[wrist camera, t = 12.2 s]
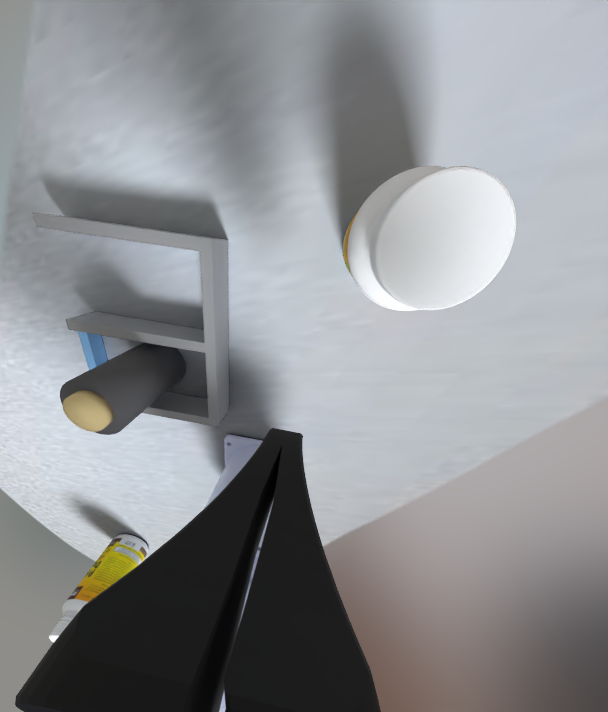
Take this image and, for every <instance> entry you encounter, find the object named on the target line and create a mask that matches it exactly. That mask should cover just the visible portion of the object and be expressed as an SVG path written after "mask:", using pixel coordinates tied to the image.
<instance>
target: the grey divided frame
mask: <svg viewBox="0 0 608 712" xmlns="http://www.w3.org/2000/svg"><path fill="white" fill-rule="evenodd" d="M33 216H34V220H35V223H36V226H37V227H41V228H48V229H54V230H61V231H68V232H74V233H81V234H88V235H94V236H101V237H108V238H115V239H121V240H128V241H135V242H141V243H148V244H155V245H161V246H168V247H175V248H182V249H188V250H195V251H200V266H201V285H202V303H203V322H204V330H203V329H197V328H191V327H185V326H179V325H173V324H167V323H161V322H155V321H149V320H143V319H137V318H131V317H125V316H119V315H113V314H107V313H101V312H92V313H88V314H85V315H81V316H77V317H74V318H70V319H66V322H67V326H68V329H69V330H74V331H78V334H79V337H80V340H81V344H82V347H83V351H84V354H85V357H86V361H87V364H88V367H89V370H91V369H93V368H95V367H97V366H99V365H101V364H103V363H105V362H107V361H108V360H107V356H106V353H105V349H104V345H103V341H102V337H101V335H103V336H109V337H115V338H121V339H127V340H133V341H139V342H144V343H150V344H156V345H162V346H168V347H174V348H180V349H185V350H191V351H197V352H203V353H205V359H206V377H207V396H208V399H206V398H200V397H195V396H189V395H184V394H178V393H173V392H167V391H166V392H165V393H164V394H162V395H161V396H160V397H159V398H158V399H157V400H156V401H154V402H153V403H152V404H151V405H150V406H149V407H147V408H146V409H145V410H144V411H143V412H142V413H146V414H151V415H157V416H162V417H168V418H173V419H178V420H184V421H189V422H195V423H200V424H205V425H211V426H216V427H218V426H219V424H220V423H221V421H222V420H223V418H224V416H225V415H226V413H227V412H228V410H229V325H228V240H226V239H219V238H212V237H205V236H198V235H192V234H185V233H178V232H171V231H164V230H157V229H151V228H144V227H137V226H130V225H123V224H116V223H109V222H103V221H96V220H89V219H82V218H75V217H67V216H58V215H49V214H39V213H33Z"/></svg>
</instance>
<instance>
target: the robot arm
mask: <svg viewBox="0 0 608 712" xmlns="http://www.w3.org/2000/svg"><path fill="white" fill-rule="evenodd" d="M302 438H303V436H302V434H301V433H296V432H290V431H285V430H280V429H274V428H272V429H270V431H269V432H268V434H267V436H266V437H265V439H264V440H263V441H262V440H256V439H251V438H245V437H240V436H235V435H226V437H225V439H224V450H225V469H224V471H223V473H222V475H221V477H220V479H219V481H218V483H217V485H216V487H215V489H214V491H213V493H212V495H211V497H210V499H209V501H208V503H207V505H206V507H205V509H204V510H203V511H201V512H200V513H199V514H198V515H197V516H196V517H195V518H194V519H193V520H192V521H191V522H189V523H188V524H187V525H186V526H185V527H184V528H183V529H182V530H181V531H179V532H178V533H177V534H176V535H175V536H174V537H172V538H171V539H170V540H169V541H168V542H166V543H165V544H164V545H163V546H161V547H160V548H159V549H158V550H156V551H155V552H154V553H153V554H152V555H150V556H149V557H148V558H147V559H145V560H144V561H143V562H142V563H140V564H139V565H138V566H137V567H135V568H134V569H133V570H131V571H130V572H129V573H127V574H126V575H125V576H123V577H122V578H120V579H119V580H118V581H116V582H115V583H114V584H112V585H111V586H110V587H108V588H107V589H106V590H104V591H103V592H101V593H100V594H99V595H97V596H96V597H95V598H93V599H92V600H91V601H89V602H88V603H87V604H85V605H84V606H83V607H82V608H81V610H80V611H79V612H78V613H77V614H76V616H75V617H74V618H73V619H72V620H71V622H70V623H69V624H68V625H67V627H66V628H65V629H64V631H63V632H62V633H61V634H60V635H59V637H58V638H57V639H56V640H55V642H54V643H53V645H52V646H51V648H50V649H49V650H48V652H47V653H46V655H45V656H44V657H43V659H42V660H41V662H40V663H39V664H38V666H37V667H36V669H35V670H34V672H33V673H32V675H31V676H30V677H29V679H28V680H27V682H26V683H25V684H24V686H23V687H22V689H21V690H20V692H19V693H18V694H17V696H16V703H15V705H16V707H18V708H19V709H20V710H22V711H24V712H381V711H380V706H379V702H378V698H377V694H376V690H375V686H374V682H373V678H372V674H371V670H370V668H369V665H368V663H367V661H366V658H365V656H364V654H363V651H362V649H361V647H360V645H359V642H358V640H357V637H356V635H355V633H354V630H353V628H352V625H351V623H350V621H349V618H348V615H347V613H346V610H345V608H344V605H343V603H342V600H341V598H340V595H339V593H338V590H337V587H336V584H335V581H334V578H333V576H332V573H331V570H330V567H329V564H328V562H327V559H326V556H325V553H324V550H323V546H322V543H321V540H320V537H319V533H318V530H317V526H316V523H315V519H314V515H313V511H312V507H311V503H310V498H309V494H308V489H307V484H306V478H305V472H304V465H303V454H302Z"/></svg>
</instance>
